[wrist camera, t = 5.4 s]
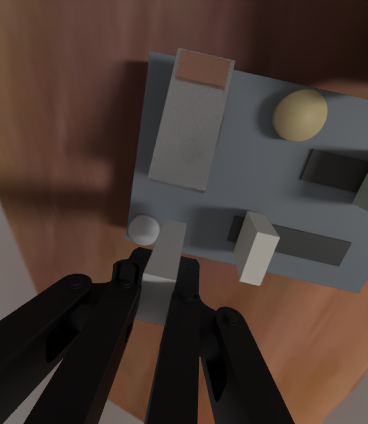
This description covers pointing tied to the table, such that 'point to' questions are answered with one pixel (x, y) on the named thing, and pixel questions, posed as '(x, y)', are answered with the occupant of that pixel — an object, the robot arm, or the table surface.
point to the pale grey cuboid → (255, 248)
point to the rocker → (191, 120)
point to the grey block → (362, 195)
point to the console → (266, 178)
